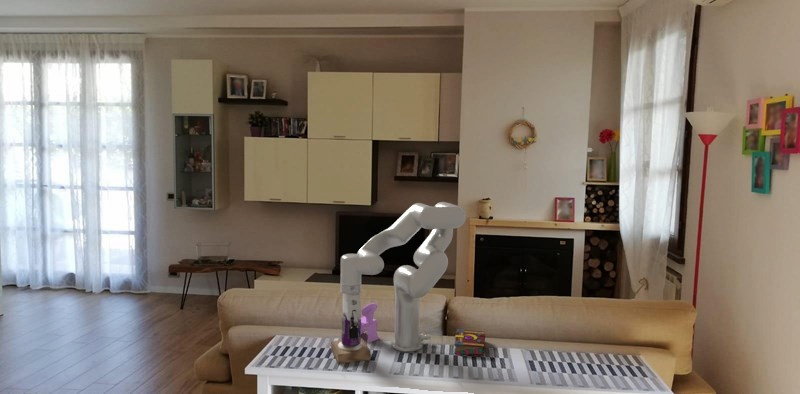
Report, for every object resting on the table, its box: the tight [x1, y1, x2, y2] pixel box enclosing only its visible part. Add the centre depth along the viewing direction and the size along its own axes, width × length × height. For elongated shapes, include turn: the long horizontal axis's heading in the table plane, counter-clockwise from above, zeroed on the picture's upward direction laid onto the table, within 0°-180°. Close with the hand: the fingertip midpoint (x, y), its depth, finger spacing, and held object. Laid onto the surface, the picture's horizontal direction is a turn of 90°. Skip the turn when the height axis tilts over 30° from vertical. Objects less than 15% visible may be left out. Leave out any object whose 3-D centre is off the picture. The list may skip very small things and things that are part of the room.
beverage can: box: [340, 312, 362, 347], centre depth 200 cm, size 7×7×12 cm
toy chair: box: [361, 302, 380, 344], centre depth 216 cm, size 8×9×15 cm
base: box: [330, 337, 371, 365], centre depth 201 cm, size 12×12×4 cm
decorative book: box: [453, 328, 486, 357], centre depth 209 cm, size 11×16×5 cm
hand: (350, 333), depth 200 cm, fingers open, 7 cm apart
